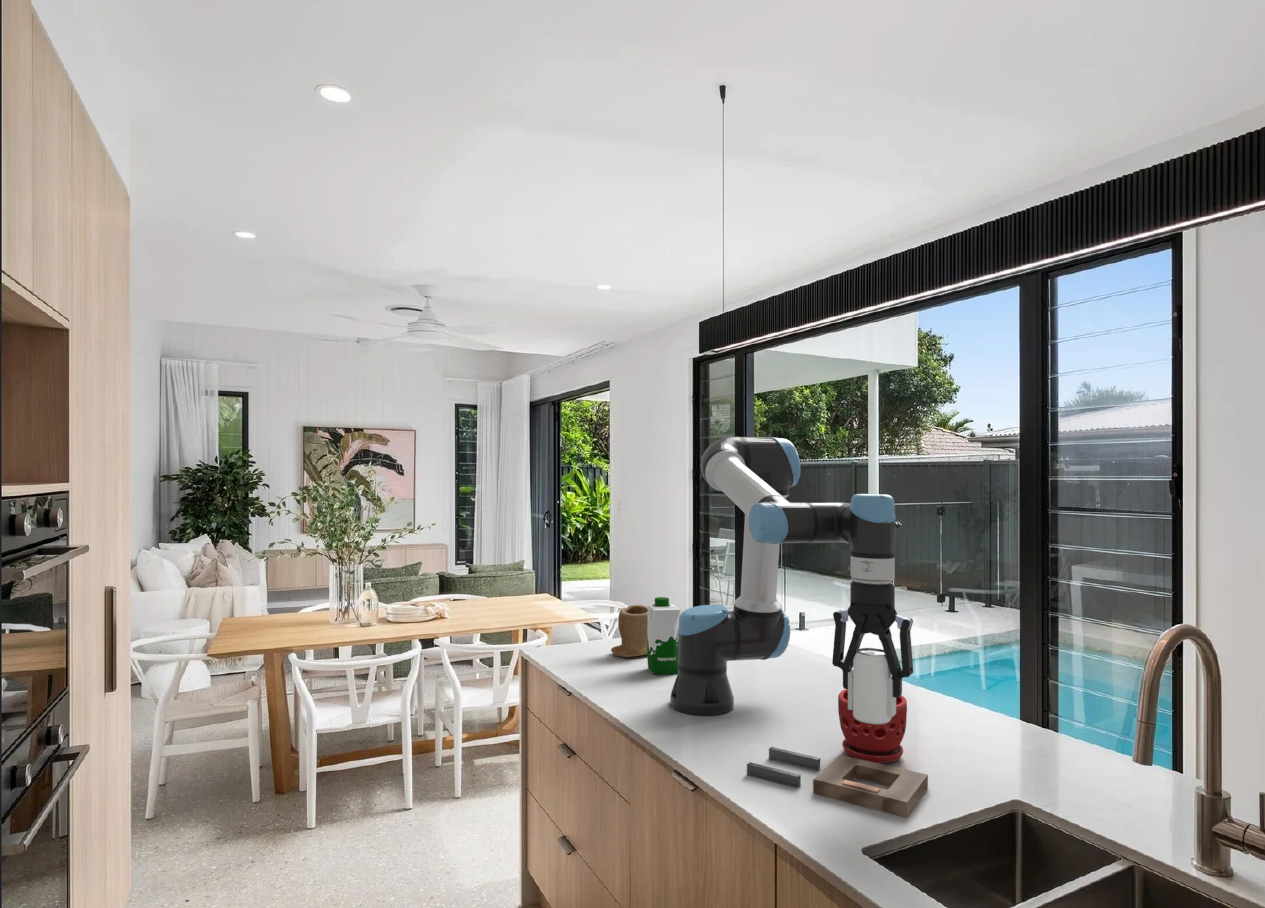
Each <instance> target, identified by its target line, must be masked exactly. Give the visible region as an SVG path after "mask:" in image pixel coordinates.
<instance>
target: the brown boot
mask: <svg viewBox="0 0 1265 908" xmlns="http://www.w3.org/2000/svg"><path fill="white" fill-rule="evenodd" d="M617 619H618V623H617V624H618V626H617V627H618V631H619V635H620V638H621V644H620V645H616V646H615V645H614V646H613V647H611V650H610V652H611V653H612V654H614V655H615V656H618V657H622V658H631V657H633V658H634V657H639V656H644V655H645V656H647V624H648V606H646V605H644V604H643V605H642V604H631V605H629V606H627V607H623V608H621V609H620V611H619V613H618V618H617Z"/></svg>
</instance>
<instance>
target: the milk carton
mask: <svg viewBox="0 0 1265 908" xmlns="http://www.w3.org/2000/svg"><path fill="white" fill-rule="evenodd" d="M647 607H648V624H647V654H646V657H647V669H648V670H649V671H650V672H651V673H652V674H653V675H654V676H660V675H664V676H665V675H677V674H678V627H679V617H680V615H681V613H682V612H681V611H682V610H681V608H679V607H678V605H675V604H672V603H671V604H670V598H669V597H665V596H664V597H663V596H662V597H661V596H659V597H658V596H656V597H655V598H654V604H648V605H647Z"/></svg>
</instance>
